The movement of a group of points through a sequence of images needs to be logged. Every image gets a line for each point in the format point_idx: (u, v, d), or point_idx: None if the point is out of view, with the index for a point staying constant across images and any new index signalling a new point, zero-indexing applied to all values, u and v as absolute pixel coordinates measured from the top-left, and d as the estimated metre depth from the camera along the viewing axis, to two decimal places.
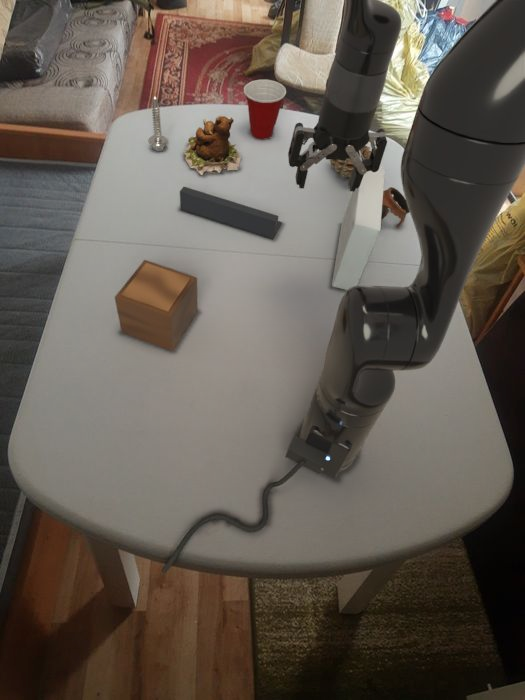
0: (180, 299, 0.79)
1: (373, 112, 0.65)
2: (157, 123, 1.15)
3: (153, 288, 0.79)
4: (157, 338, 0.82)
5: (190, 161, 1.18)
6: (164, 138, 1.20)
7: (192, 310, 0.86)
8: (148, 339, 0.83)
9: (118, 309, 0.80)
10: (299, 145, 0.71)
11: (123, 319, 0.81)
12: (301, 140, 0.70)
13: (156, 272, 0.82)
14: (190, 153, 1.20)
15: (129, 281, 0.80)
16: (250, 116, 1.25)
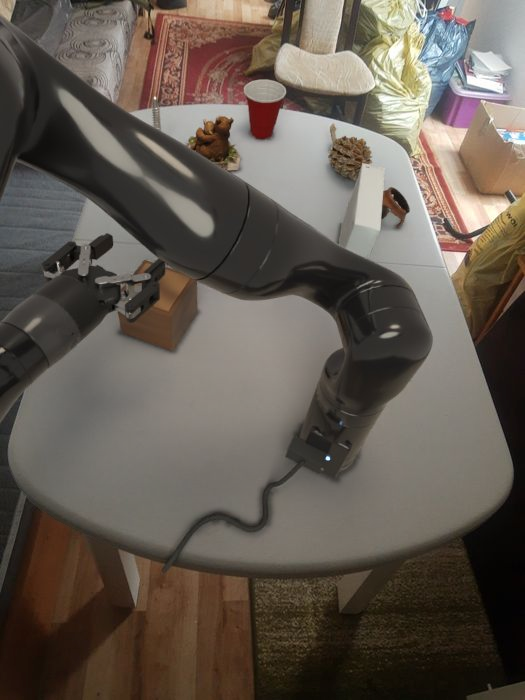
0: (180, 299, 0.79)
1: None
2: (157, 123, 1.15)
3: None
4: (157, 338, 0.82)
5: None
6: None
7: (192, 310, 0.86)
8: (148, 339, 0.83)
9: None
10: (136, 298, 0.59)
11: (123, 319, 0.81)
12: (130, 301, 0.58)
13: None
14: None
15: None
16: (250, 116, 1.25)
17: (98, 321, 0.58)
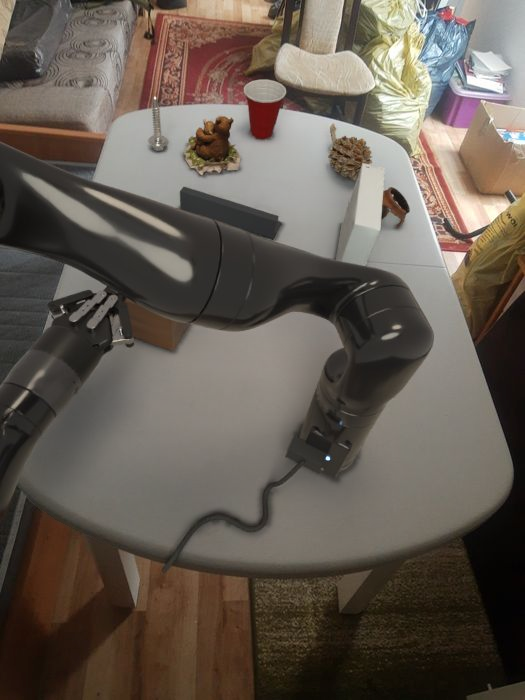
0: None
1: (31, 347, 0.57)
2: (157, 123, 1.15)
3: None
4: (157, 338, 0.82)
5: (190, 161, 1.18)
6: (164, 138, 1.20)
7: None
8: (148, 339, 0.83)
9: None
10: (124, 324, 0.62)
11: None
12: (124, 329, 0.62)
13: None
14: (190, 153, 1.20)
15: None
16: (250, 116, 1.25)
17: (95, 364, 0.60)
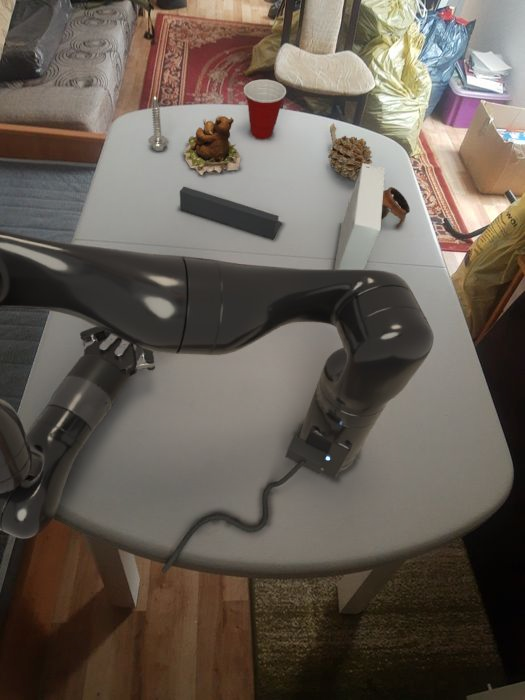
0: None
1: (69, 373, 0.68)
2: (157, 123, 1.15)
3: None
4: None
5: (190, 161, 1.18)
6: (164, 138, 1.20)
7: None
8: None
9: None
10: (146, 351, 0.73)
11: None
12: (146, 355, 0.72)
13: None
14: (190, 153, 1.20)
15: None
16: (250, 116, 1.25)
17: (123, 386, 0.71)
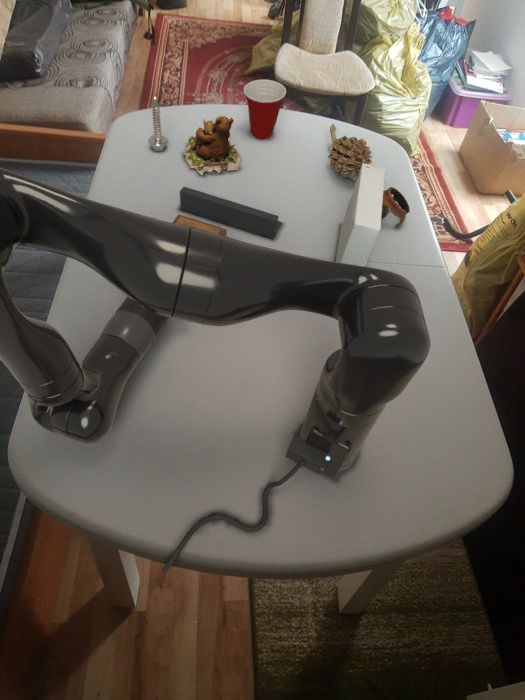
0: None
1: (118, 309, 0.76)
2: (157, 123, 1.15)
3: None
4: None
5: (190, 161, 1.18)
6: (164, 138, 1.20)
7: None
8: None
9: None
10: None
11: None
12: None
13: (190, 224, 0.90)
14: (190, 153, 1.20)
15: None
16: (250, 116, 1.25)
17: (164, 323, 0.79)
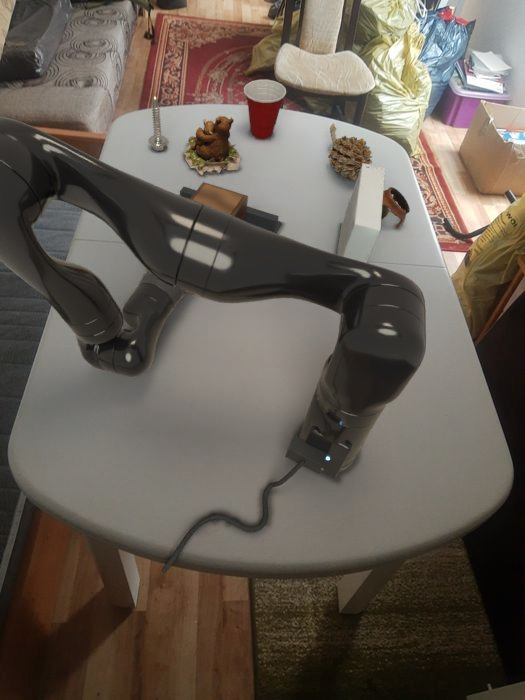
0: (236, 211, 0.94)
1: None
2: (157, 123, 1.15)
3: (213, 202, 0.95)
4: None
5: (190, 161, 1.18)
6: (164, 138, 1.20)
7: None
8: None
9: None
10: None
11: None
12: None
13: (214, 191, 0.97)
14: (190, 153, 1.20)
15: (192, 197, 0.96)
16: (250, 116, 1.25)
17: None
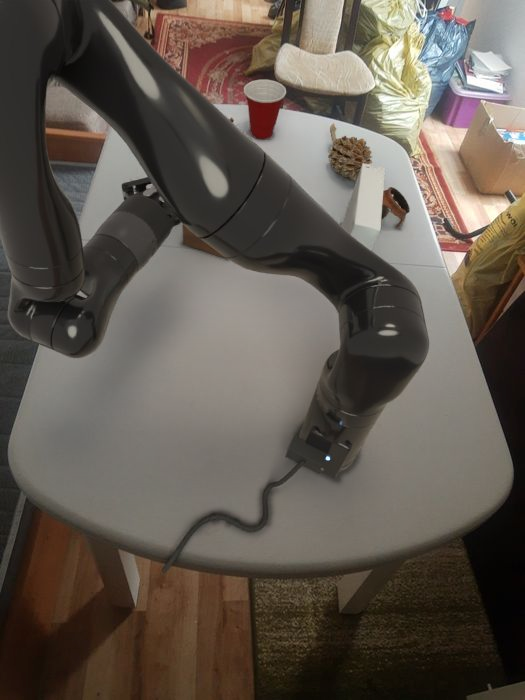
0: None
1: (113, 212, 0.64)
2: None
3: None
4: None
5: None
6: None
7: None
8: (206, 248, 0.99)
9: None
10: None
11: (186, 230, 0.97)
12: None
13: None
14: None
15: None
16: (250, 116, 1.25)
17: (167, 233, 0.67)
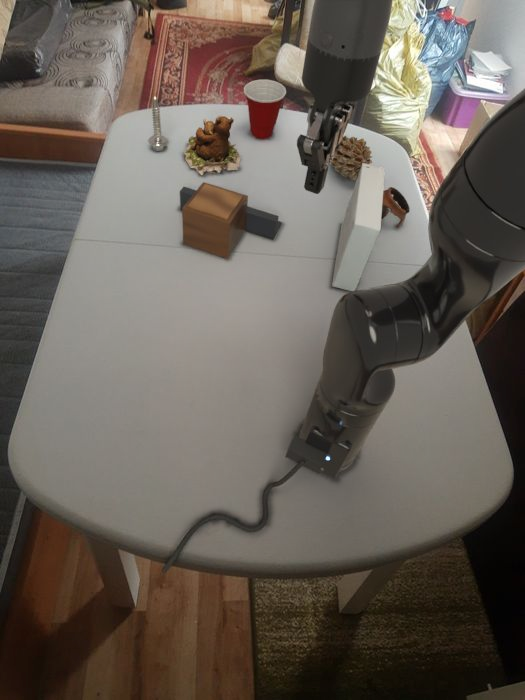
0: (236, 211, 0.94)
1: None
2: (157, 123, 1.15)
3: (213, 202, 0.95)
4: (215, 247, 0.98)
5: (190, 161, 1.18)
6: (164, 138, 1.20)
7: (242, 227, 1.02)
8: (206, 248, 0.99)
9: (183, 220, 0.95)
10: (321, 151, 0.53)
11: (186, 230, 0.97)
12: None
13: (214, 191, 0.97)
14: (190, 153, 1.20)
15: (192, 197, 0.96)
16: (250, 116, 1.25)
17: (319, 87, 0.49)
